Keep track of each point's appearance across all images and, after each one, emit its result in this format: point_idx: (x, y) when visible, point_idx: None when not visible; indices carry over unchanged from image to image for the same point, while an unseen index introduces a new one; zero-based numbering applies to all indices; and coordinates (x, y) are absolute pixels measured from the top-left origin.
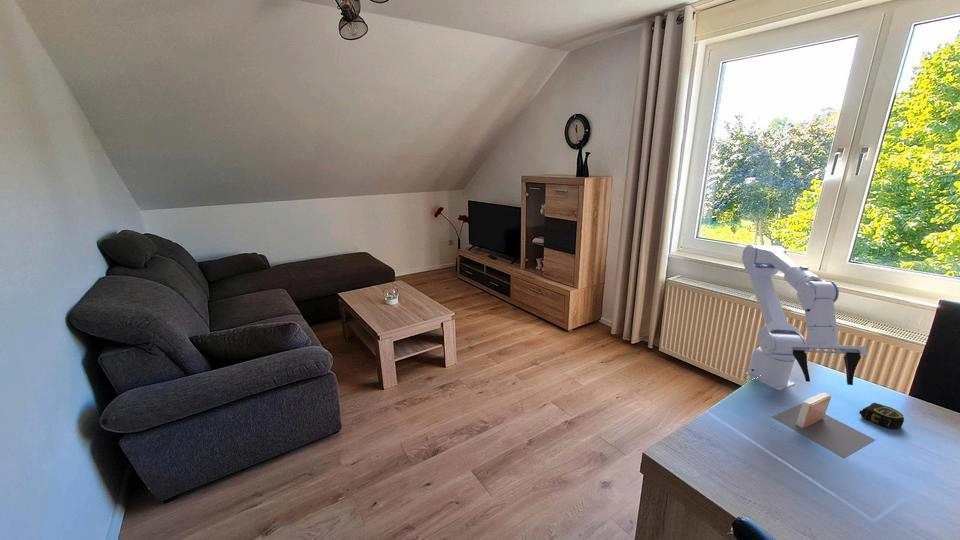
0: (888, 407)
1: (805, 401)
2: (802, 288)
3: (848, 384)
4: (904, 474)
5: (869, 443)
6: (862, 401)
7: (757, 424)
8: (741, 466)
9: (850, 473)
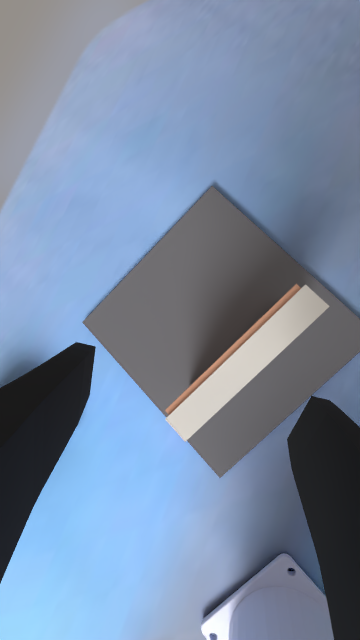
0: None
1: (319, 305)
2: None
3: (93, 360)
4: (84, 196)
5: (107, 296)
6: (15, 550)
7: None
8: None
9: (219, 132)
